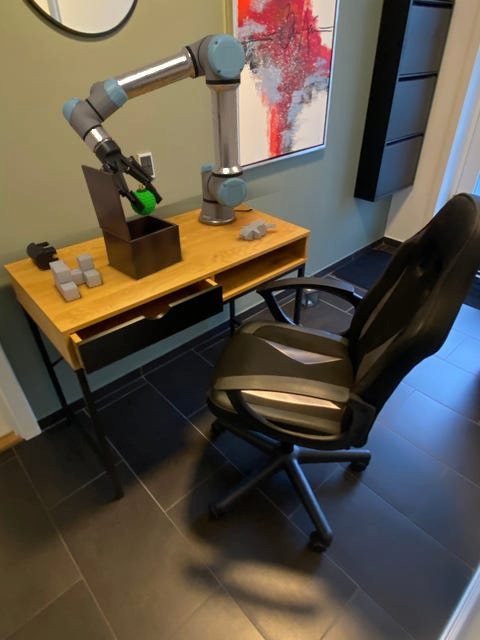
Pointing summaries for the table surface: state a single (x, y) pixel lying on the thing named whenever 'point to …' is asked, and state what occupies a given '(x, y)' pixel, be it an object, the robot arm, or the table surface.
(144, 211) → the ornament
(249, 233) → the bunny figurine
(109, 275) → the table surface
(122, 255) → the chest
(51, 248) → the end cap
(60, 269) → the grey cube cluster
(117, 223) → the chest lid
